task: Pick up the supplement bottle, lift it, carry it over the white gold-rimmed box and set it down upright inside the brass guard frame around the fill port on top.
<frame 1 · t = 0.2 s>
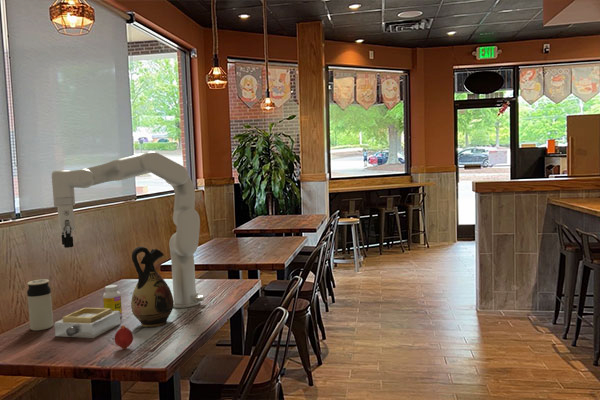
hand: (67, 245, 195), 30 cm above the table, tool pointing down, fingers open, 9 cm apart
travel mug: (42, 328, 192), on the table
white gold-rimmed box: (88, 329, 187), on the table
onion: (124, 349, 165), on the table
ceramic jug: (151, 324, 190), on the table
supplement bottle: (113, 318, 202), on the table
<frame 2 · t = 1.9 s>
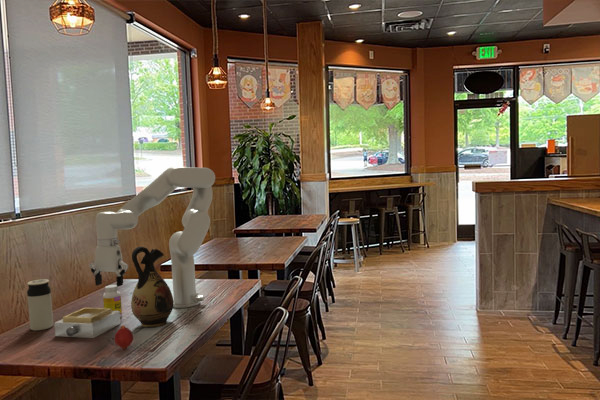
hand: (109, 285, 200), 13 cm above the table, tool pointing down, fingers open, 9 cm apart
nothing on the table moved.
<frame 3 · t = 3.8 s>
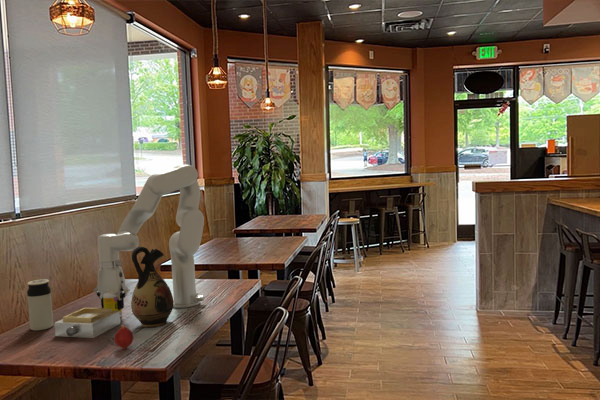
hand: (112, 308, 201), 4 cm above the table, tool pointing down, fingers closed on supplement bottle, 6 cm apart
supplement bottle: (113, 318, 202), on the table, touching gripper
everything else where it was.
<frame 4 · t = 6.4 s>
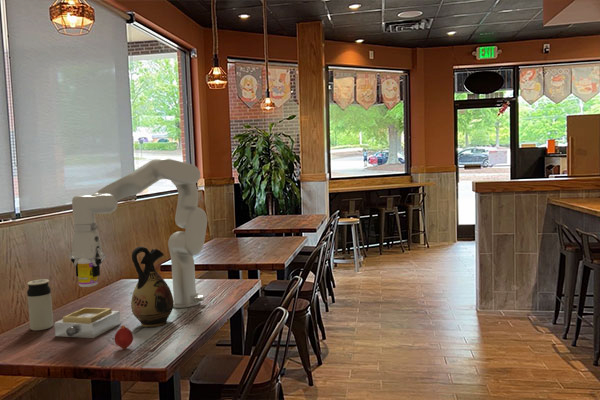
hand: (88, 275, 188), 20 cm above the table, tool pointing down, fingers closed on supplement bottle, 6 cm apart
supplement bottle: (88, 285, 188), point 16 cm above the table, touching gripper
everything else where it was.
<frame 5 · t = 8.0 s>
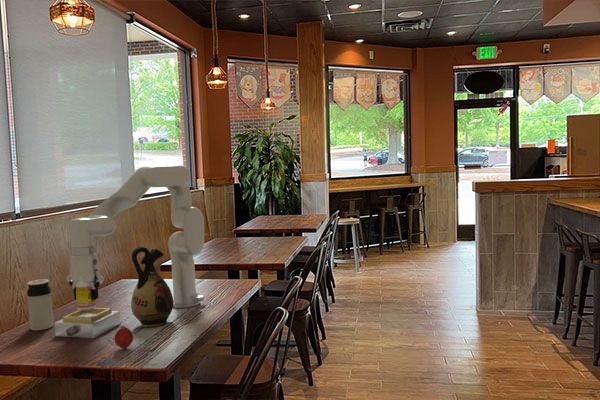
hand: (86, 298, 186), 12 cm above the table, tool pointing down, fingers closed on supplement bottle, 6 cm apart
supplement bottle: (87, 308, 186), point 8 cm above the table, touching gripper
everything else where it was.
when the fingers open (10 cm above the table, at t = 9.3 s): supplement bottle drops 1 cm, resting on white gold-rimmed box.
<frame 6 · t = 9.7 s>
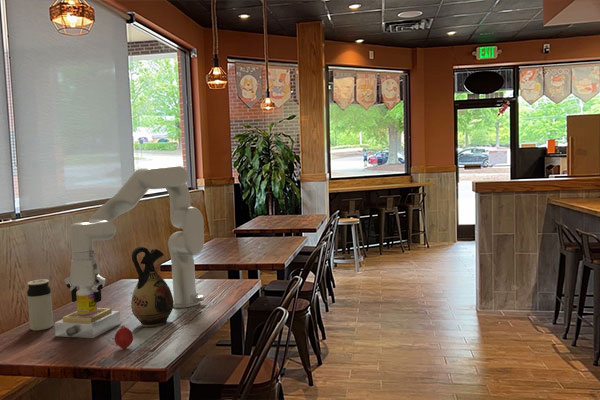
hand: (86, 301, 186), 11 cm above the table, tool pointing down, fingers open, 9 cm apart
supplement bottle: (87, 317, 187), point 5 cm above the table, touching white gold-rimmed box
everything else where it was.
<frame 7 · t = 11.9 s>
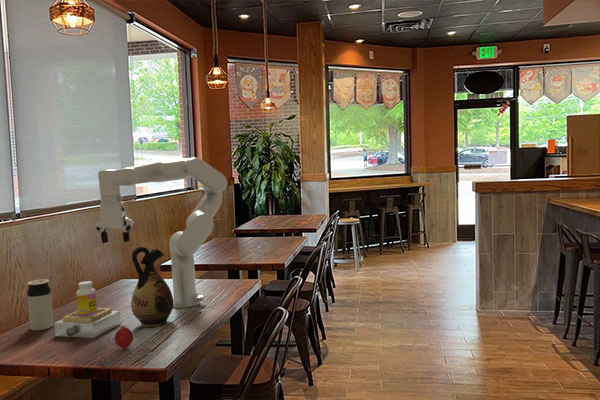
hand: (115, 242, 203), 30 cm above the table, tool pointing down, fingers open, 9 cm apart
nothing on the table moved.
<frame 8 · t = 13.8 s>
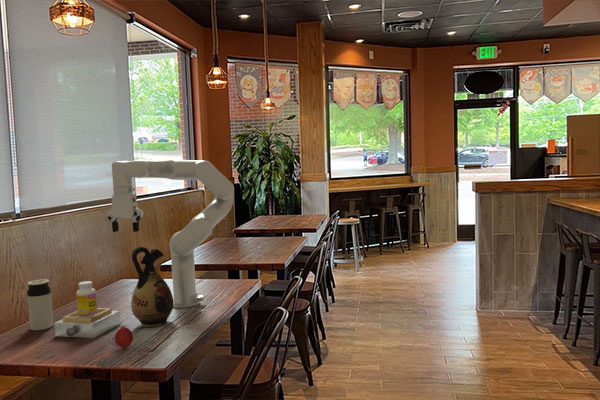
hand: (125, 231, 210), 33 cm above the table, tool pointing down, fingers open, 9 cm apart
nothing on the table moved.
at the end: supplement bottle 0.3 cm off-centre on the white gold-rimmed box, point 4.8 cm above the white gold-rimmed box's base; supplement bottle tilted 0°; the gripper is holding nothing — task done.
